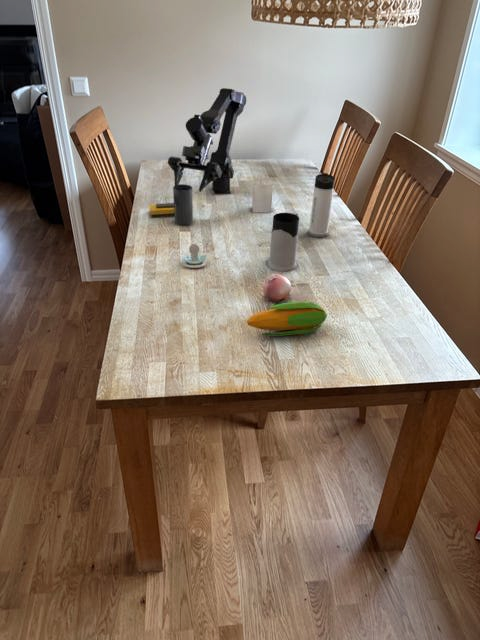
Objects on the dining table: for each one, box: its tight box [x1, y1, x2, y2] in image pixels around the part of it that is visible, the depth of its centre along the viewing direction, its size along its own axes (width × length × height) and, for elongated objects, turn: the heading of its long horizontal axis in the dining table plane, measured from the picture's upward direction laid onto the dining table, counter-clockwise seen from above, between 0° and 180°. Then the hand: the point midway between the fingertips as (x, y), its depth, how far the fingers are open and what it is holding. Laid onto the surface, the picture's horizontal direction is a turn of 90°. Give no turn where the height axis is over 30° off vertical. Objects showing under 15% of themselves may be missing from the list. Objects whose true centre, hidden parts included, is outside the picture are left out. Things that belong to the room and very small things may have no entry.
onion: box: [262, 273, 292, 304], centre depth 132 cm, size 8×8×7 cm
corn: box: [246, 301, 328, 337], centre depth 119 cm, size 7×8×20 cm
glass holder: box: [267, 211, 300, 272], centre depth 148 cm, size 9×14×15 cm, turn 155°
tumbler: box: [172, 183, 194, 227], centre depth 170 cm, size 6×6×12 cm
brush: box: [149, 202, 174, 218], centre depth 178 cm, size 12×6×4 cm, turn 103°
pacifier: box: [181, 243, 207, 269], centre depth 146 cm, size 7×6×6 cm
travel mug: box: [308, 172, 336, 238], centre depth 163 cm, size 6×7×20 cm
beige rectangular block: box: [251, 183, 273, 213], centre depth 182 cm, size 4×7×10 cm, turn 93°
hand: (187, 189), depth 171 cm, fingers open, 9 cm apart
